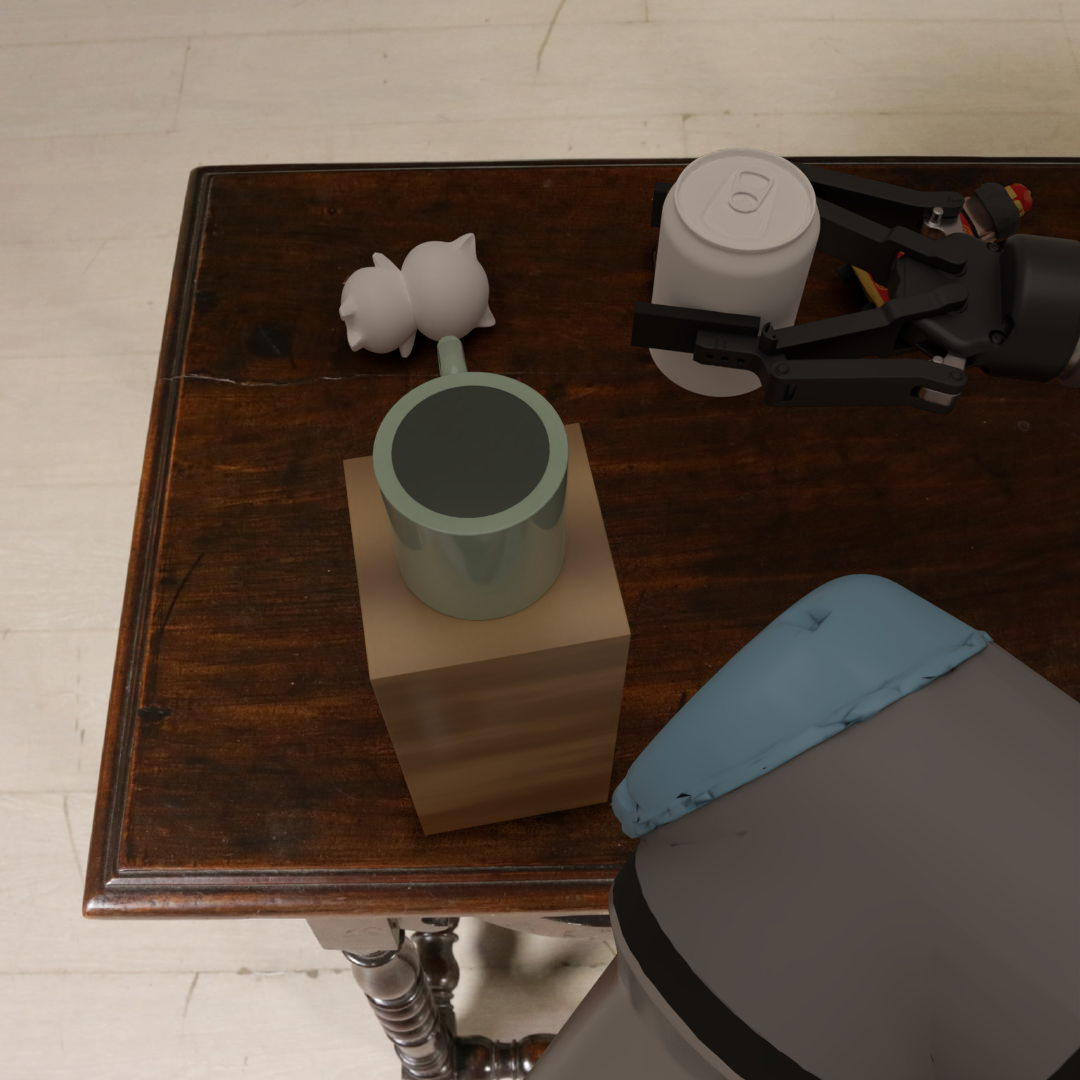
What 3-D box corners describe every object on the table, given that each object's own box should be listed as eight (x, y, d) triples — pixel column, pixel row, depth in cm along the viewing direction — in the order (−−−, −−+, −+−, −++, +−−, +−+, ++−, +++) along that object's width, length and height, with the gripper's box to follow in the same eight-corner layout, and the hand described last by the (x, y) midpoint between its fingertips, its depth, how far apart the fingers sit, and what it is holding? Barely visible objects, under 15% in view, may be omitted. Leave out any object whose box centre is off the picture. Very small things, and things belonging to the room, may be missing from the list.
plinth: (607, 802, 76) (631, 634, 53) (424, 836, 75) (369, 679, 52) (571, 636, 82) (579, 422, 59) (401, 666, 81) (342, 459, 58)
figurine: (894, 372, 98) (1066, 275, 93) (873, 331, 89) (1061, 221, 85) (842, 284, 101) (1006, 186, 97) (817, 236, 93) (995, 127, 88)
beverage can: (626, 377, 68) (641, 228, 58) (674, 280, 72) (696, 123, 61) (759, 421, 66) (798, 277, 56) (801, 320, 70) (845, 166, 60)
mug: (582, 604, 54) (586, 516, 47) (406, 634, 53) (384, 549, 46) (536, 404, 60) (534, 298, 52) (377, 429, 59) (353, 325, 52)
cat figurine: (329, 280, 85) (484, 234, 87) (316, 248, 95) (456, 208, 96) (363, 388, 90) (511, 343, 91) (348, 348, 99) (482, 308, 100)
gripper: (1084, 121, 64) (670, 77, 66) (1113, 433, 53) (622, 370, 55) (1034, 222, 70) (659, 179, 72) (1051, 517, 60) (614, 457, 62)
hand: (643, 262), depth 64 cm, fingers closed on beverage can, 8 cm apart
